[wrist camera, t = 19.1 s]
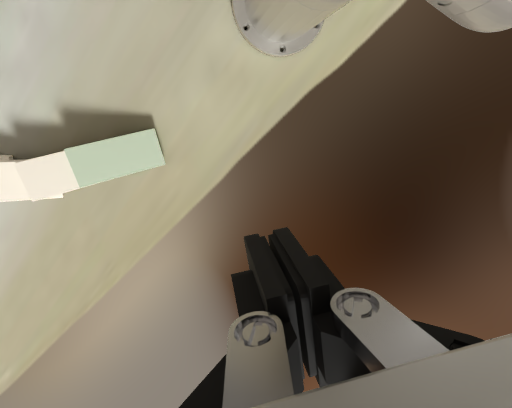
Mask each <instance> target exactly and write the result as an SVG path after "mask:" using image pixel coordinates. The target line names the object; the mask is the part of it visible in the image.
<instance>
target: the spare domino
mask: <svg viewBox="0 0 512 408" xmlns="http://www.w3.org/2000/svg"><path fill="white" fill-rule="evenodd" d="M64 151H65V154H66V156H67V158H68V161H69V163H70V166H71V168H72V170H73V173H74V175H75V178H76V180H77V182H78V185H79V187H80V188H82V187H86V186H89V185H93V184H97V183H100V182H104V181H108V180H111V179H115V178H118V177H122V176H126V175H129V174H133V173H137V172H140V171H144V170H147V169H151V168H155V167H158V166H162V165H166V164H165V161H164V158H163V154H162V151H161V148H160V145H159V142H158V138H157V135H156V132H155V129H154V128H152V129H148V130H143V131H139V132H135V133H130V134H126V135H122V136H117V137H113V138H109V139H104V140H100V141H96V142H91V143H87V144H83V145H78V146H74V147H70V148H65V149H64Z"/></svg>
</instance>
